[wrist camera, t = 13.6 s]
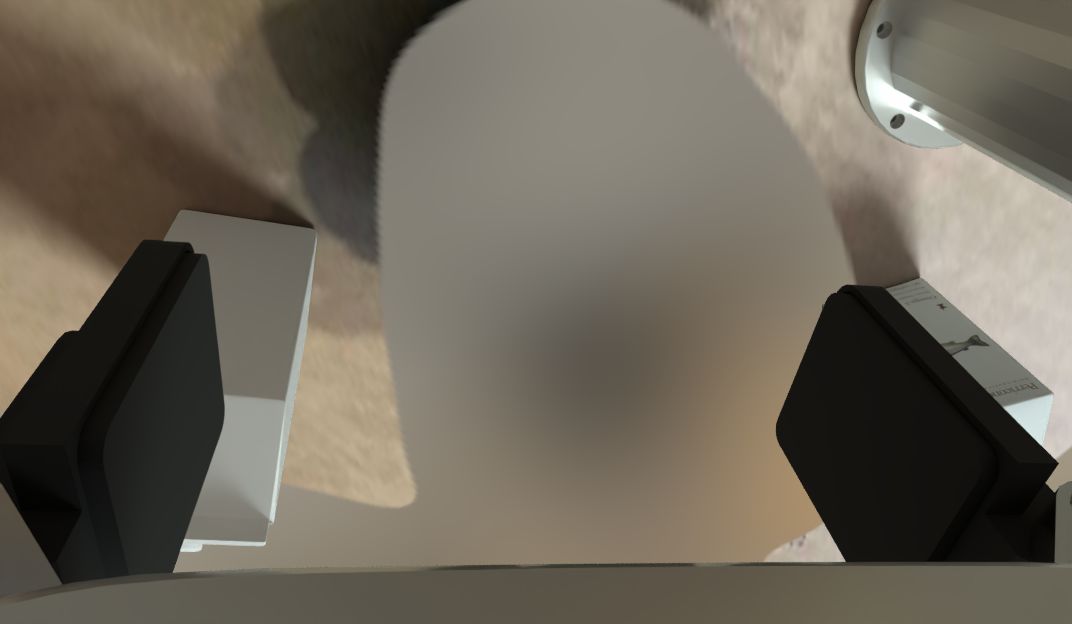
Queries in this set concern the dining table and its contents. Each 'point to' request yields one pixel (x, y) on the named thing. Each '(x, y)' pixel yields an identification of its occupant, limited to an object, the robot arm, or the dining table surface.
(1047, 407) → the supplement box
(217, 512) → the milk carton
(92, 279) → the dining table surface
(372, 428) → the dining table surface
